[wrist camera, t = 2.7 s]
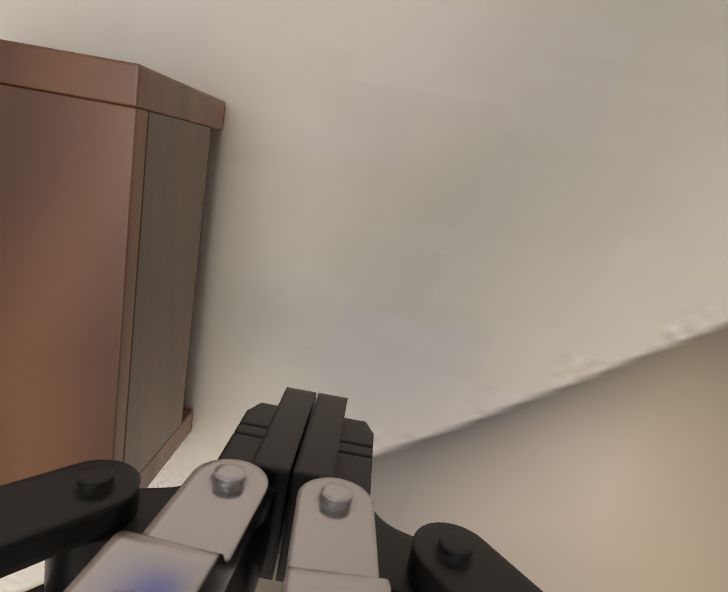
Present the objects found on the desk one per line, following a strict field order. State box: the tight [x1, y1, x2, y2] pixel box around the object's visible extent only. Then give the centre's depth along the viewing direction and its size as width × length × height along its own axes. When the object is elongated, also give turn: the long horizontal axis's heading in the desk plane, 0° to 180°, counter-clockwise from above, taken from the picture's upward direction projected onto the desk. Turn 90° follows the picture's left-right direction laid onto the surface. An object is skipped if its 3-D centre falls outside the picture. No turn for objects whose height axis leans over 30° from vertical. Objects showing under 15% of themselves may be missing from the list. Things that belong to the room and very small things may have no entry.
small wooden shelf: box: [0, 39, 225, 488], centre depth 21 cm, size 10×16×8 cm, turn 170°
